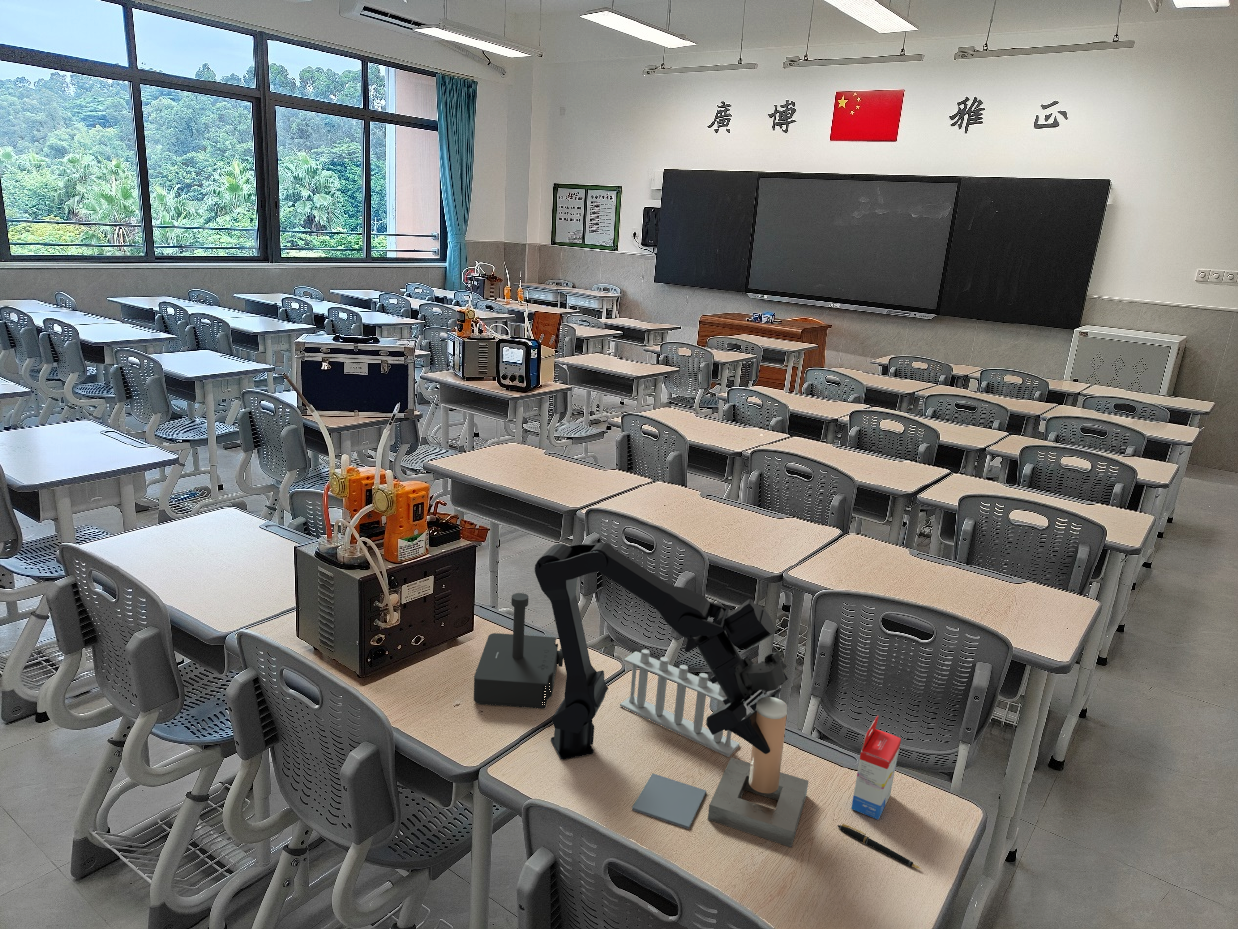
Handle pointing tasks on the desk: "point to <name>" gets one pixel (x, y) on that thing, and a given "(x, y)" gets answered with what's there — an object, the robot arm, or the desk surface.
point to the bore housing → (754, 816)
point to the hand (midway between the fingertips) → (775, 745)
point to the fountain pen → (874, 844)
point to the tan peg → (773, 730)
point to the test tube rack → (677, 701)
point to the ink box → (875, 771)
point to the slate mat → (669, 800)
